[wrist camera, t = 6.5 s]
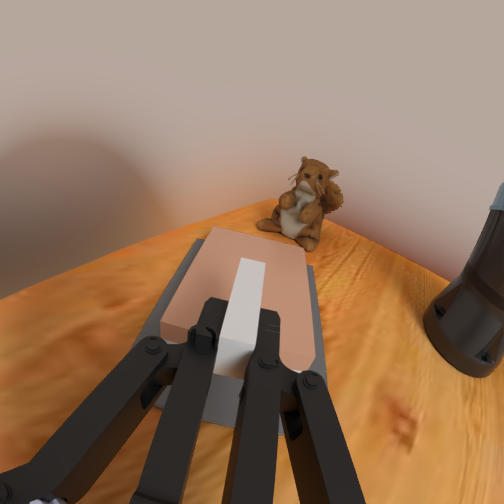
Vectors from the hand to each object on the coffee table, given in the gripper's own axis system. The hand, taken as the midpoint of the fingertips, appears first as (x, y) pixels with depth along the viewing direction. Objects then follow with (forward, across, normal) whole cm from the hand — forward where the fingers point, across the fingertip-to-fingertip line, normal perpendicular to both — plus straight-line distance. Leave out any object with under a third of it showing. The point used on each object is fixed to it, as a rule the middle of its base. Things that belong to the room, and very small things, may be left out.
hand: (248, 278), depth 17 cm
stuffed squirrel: (+29, +7, -9) cm, 31 cm away
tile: (0, 0, -7) cm, 7 cm away
